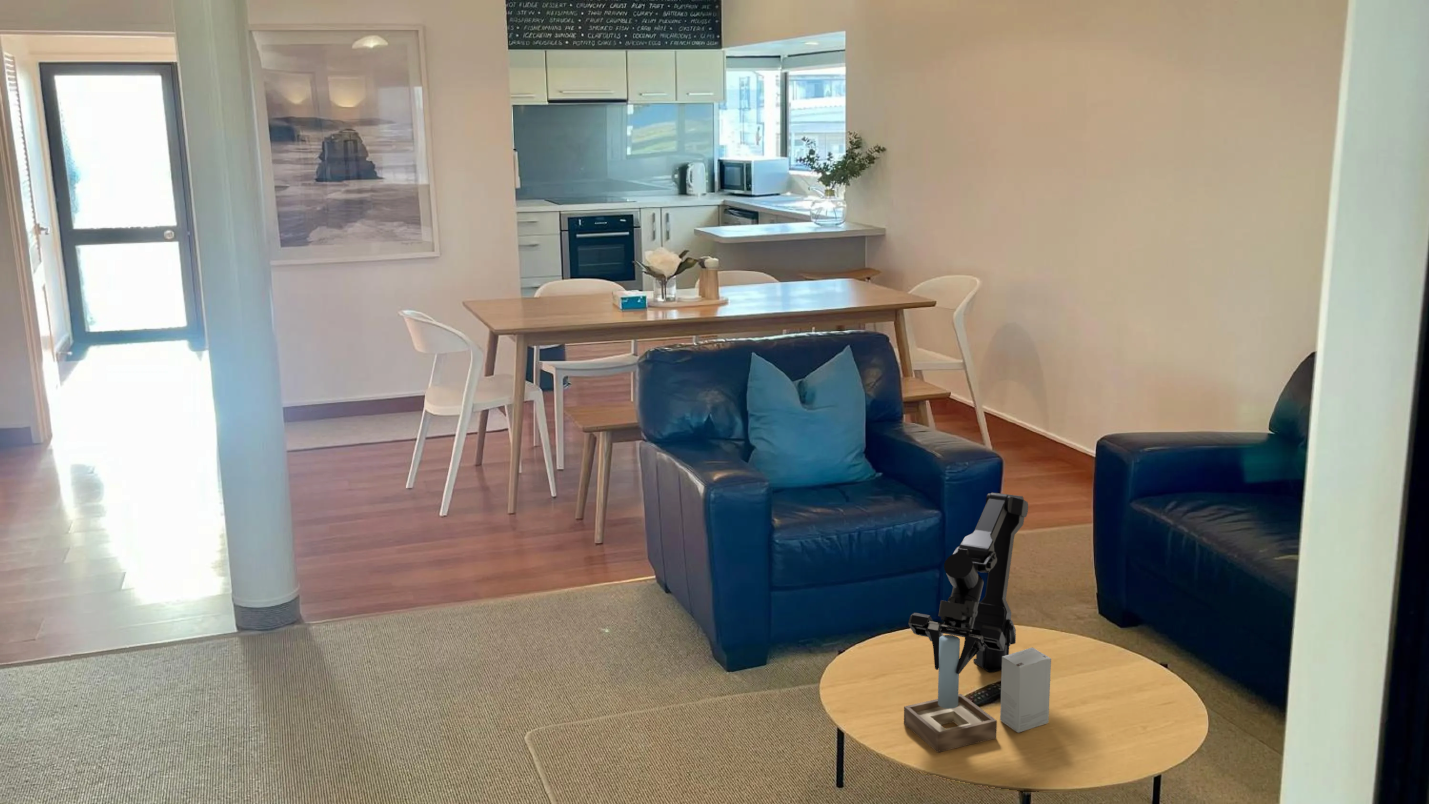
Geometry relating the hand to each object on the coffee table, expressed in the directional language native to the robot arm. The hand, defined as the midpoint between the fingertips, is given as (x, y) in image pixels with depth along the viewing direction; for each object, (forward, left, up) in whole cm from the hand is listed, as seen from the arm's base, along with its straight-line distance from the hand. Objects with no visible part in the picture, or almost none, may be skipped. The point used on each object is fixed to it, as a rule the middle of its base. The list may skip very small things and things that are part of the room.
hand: (946, 671), depth 233 cm
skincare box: (-17, +3, -14) cm, 22 cm away
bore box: (-1, 0, -13) cm, 14 cm away
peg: (-1, -1, -8) cm, 8 cm away
